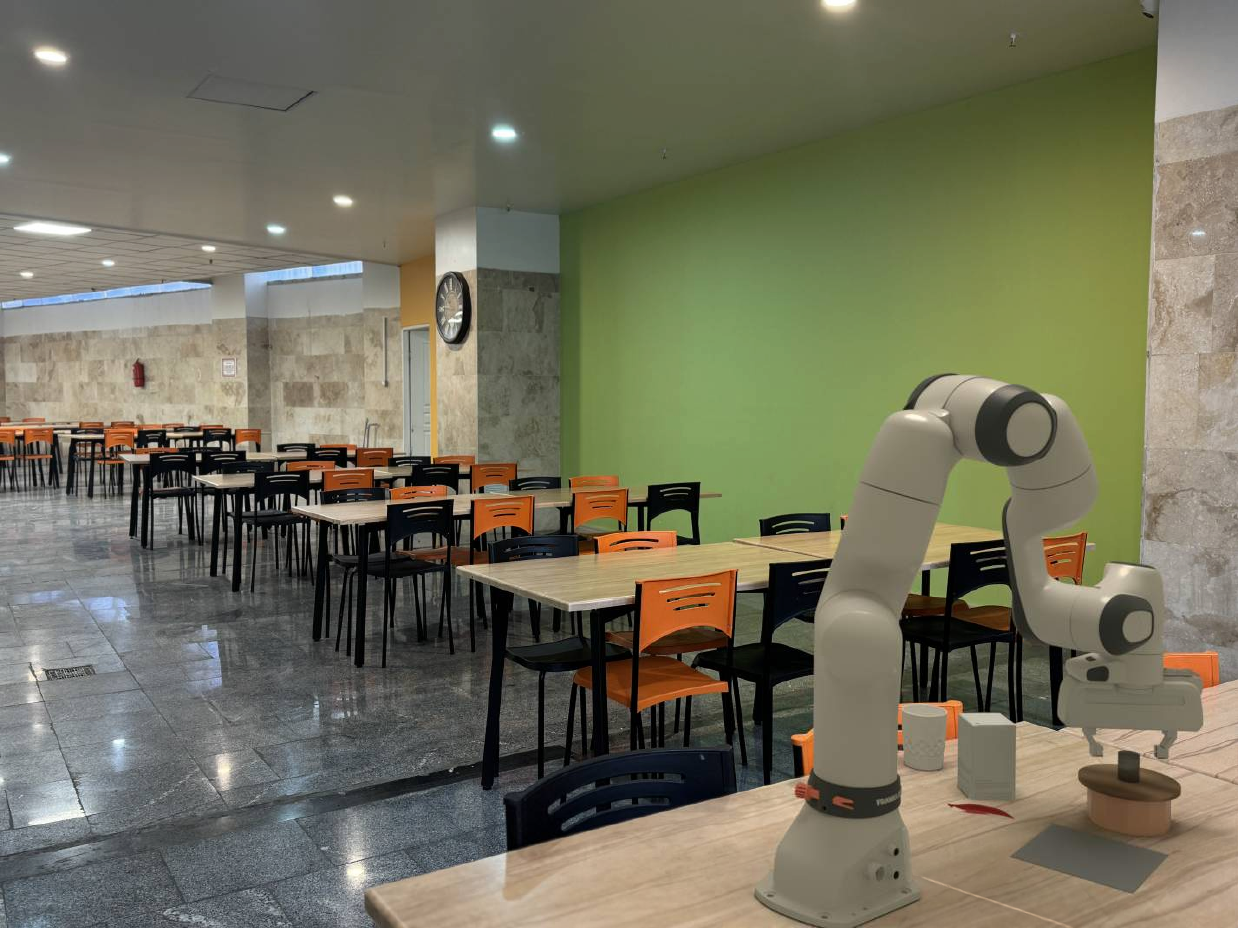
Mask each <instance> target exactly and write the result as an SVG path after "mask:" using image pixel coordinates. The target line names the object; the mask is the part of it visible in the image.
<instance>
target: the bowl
mask: <svg viewBox="0 0 1238 928" xmlns="http://www.w3.org/2000/svg"><path fill="white" fill-rule="evenodd" d="M1086 788H1087V787H1086ZM1086 799H1087V801H1086V815H1087V817H1088V818H1089V821H1091V822H1092V823H1094V824H1096V825H1097V826H1099V827H1102V828H1103V829H1105V830H1109V831H1111V832H1116V833H1120V834H1124V835H1127V836H1137V837H1138V836H1139V837H1141V836H1142V837H1153V836H1160V835H1161V836H1162V835H1166V833H1168V831H1169V830H1171V827H1172V826H1171V821H1172V820H1171V819H1172V818H1171V817H1172V814H1171V813H1172V800H1170V801H1163V802H1141V801H1132V800H1125V799H1120V798H1115V797H1111V796H1107V795H1104V794H1101V793H1098V792H1095V791H1093V790H1091V789H1089V788H1087V793H1086Z"/></svg>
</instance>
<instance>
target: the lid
mask: <svg viewBox="0 0 1238 928" xmlns="http://www.w3.org/2000/svg"><path fill="white" fill-rule="evenodd" d="M1140 766H1141V754H1140V753H1138V752H1136V751H1132V750H1127V749H1126V750H1119V751H1117V764H1116V763H1100V764H1088V765H1085V766H1083V767H1081V768H1079V770H1078V772H1077V780H1078V781H1079V783H1080V785H1082V786H1084V787H1086V788H1089V789H1091V790H1093V791H1095V792H1098V793H1101V794H1104V795H1107V796H1111V797H1115V798H1120V799H1125V800H1132V801H1141V802H1163V801H1170V800H1171V801H1173V800H1177V799H1178V798H1180V796H1181V794H1182V786H1181V784H1180V783H1179V782H1178V781H1177V780H1176V779H1174V778H1173V777H1170V776H1168V775H1167V774H1165V773H1161V772H1158V771H1155V770H1152V769H1149V768H1145V767H1140Z"/></svg>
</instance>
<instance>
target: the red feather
mask: <svg viewBox="0 0 1238 928" xmlns="http://www.w3.org/2000/svg"><path fill="white" fill-rule="evenodd" d="M947 806H949V808H950V809H952V808H953V807H954V808H957V809H960V810H962V811H961V812H963V813H965V814H966V813H967V814H975V815H986V816H990V815H996V816H1002V817H1006V818H1009V819H1012V820H1015V818H1014V817H1013V816H1012V815H1011V814H1009V813H1008V812H1006V811H1005V810H1002V809H1000V808H997V807H993V806H989V805H984V804H977V803H960V804H959V803H958V804H957V803H956V804H954V803H947Z"/></svg>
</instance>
